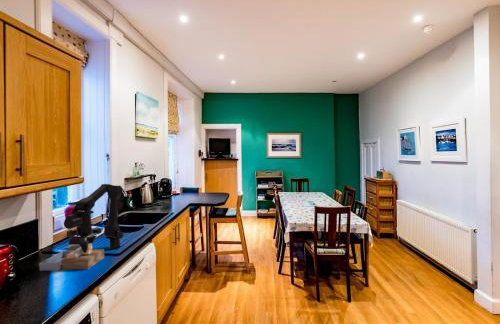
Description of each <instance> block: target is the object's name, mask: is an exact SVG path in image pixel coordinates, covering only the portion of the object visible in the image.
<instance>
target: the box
mask: <svg viewBox="0 0 500 324" xmlns="http://www.w3.org/2000/svg"><path fill="white" fill-rule="evenodd" d="M71 252H73V251H65V250H62V251H59V252H58V253H56V254H55V255H52V256H51V257H49V258H46V259H45V260H42V261H41V262H39V264H38V265H39V271H40V272H43V271H44V272H45V271H46V272H49V271H54V272H55V271H61V270H62V263H61V260H63V259H64V258H66V257H67V254H69V253H71Z"/></svg>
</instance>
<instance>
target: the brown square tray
mask: <svg viewBox="0 0 500 324" xmlns="http://www.w3.org/2000/svg"><path fill="white" fill-rule="evenodd" d="M103 259H105V249H104V248H95V249H93V248H92V253H90V254H87V255H80V256H79V257H77V258H75V259H67V257H66V258H64V259H63V260H61V263H62V269H61V270H89V269H91V267H93V266H94V265H96V264H97V263H99V262H100V261H101V260H103Z"/></svg>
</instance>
